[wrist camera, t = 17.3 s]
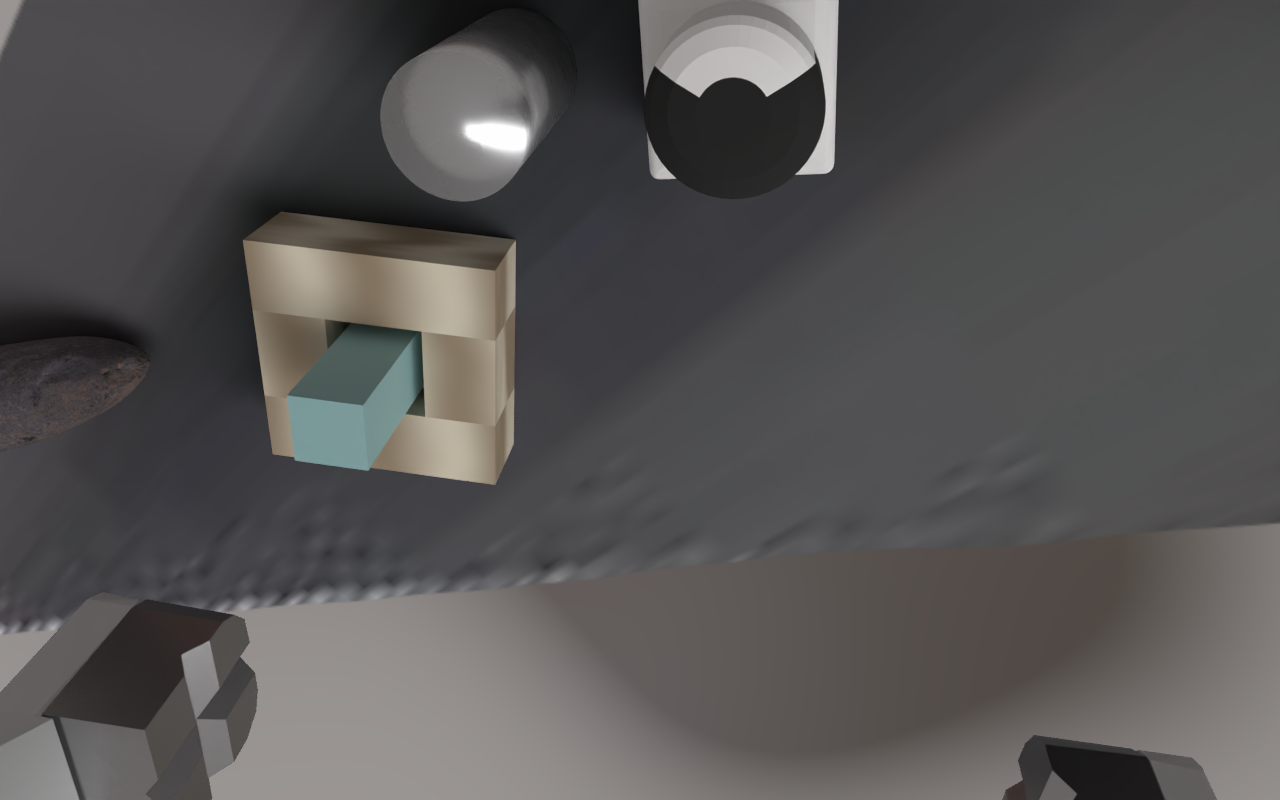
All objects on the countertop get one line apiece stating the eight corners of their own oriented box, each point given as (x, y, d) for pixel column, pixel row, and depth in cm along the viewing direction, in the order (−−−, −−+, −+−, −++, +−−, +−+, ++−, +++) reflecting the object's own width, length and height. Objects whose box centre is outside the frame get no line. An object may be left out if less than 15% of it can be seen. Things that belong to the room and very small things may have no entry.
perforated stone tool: (152, 303, 52) (71, 363, 46) (194, 387, 55) (123, 454, 49) (-72, 343, 56) (-174, 403, 50) (-23, 420, 58) (-114, 487, 52)
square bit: (434, 308, 50) (363, 405, 42) (436, 366, 52) (368, 470, 43) (371, 300, 50) (286, 395, 42) (375, 358, 52) (295, 460, 44)
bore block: (516, 239, 48) (495, 270, 44) (513, 443, 54) (495, 484, 50) (280, 211, 49) (242, 239, 45) (304, 415, 55) (273, 454, 51)
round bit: (579, 14, 42) (527, 59, 34) (574, 138, 45) (524, 209, 36) (458, 2, 43) (376, 43, 34) (460, 125, 45) (384, 192, 37)
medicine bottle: (827, 128, 43) (841, 218, 33) (667, 134, 44) (632, 224, 34) (831, -48, 40) (847, -8, 29) (658, -36, 41) (615, 6, 30)
